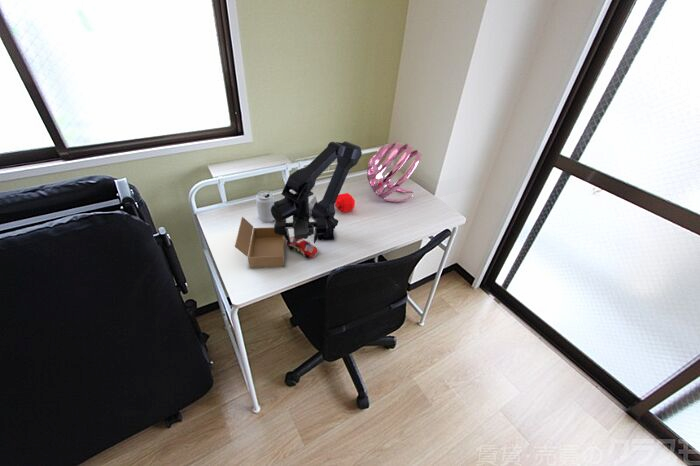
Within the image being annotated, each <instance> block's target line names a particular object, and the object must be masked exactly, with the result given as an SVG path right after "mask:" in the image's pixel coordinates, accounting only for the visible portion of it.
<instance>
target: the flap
mask: <svg viewBox="0 0 700 466" xmlns="http://www.w3.org/2000/svg"><path fill="white" fill-rule="evenodd" d="M253 228H254V226H253V225H252V223H250V222H249V220H247V219H246V218H245V217H244V216H242V217H241V219H240V224H239V228H238V230H237V231H238V232H237V236H236V238H235V239H236V240H235V244H234V248H235V249H237V250H238V251H239V252H240V253H242V254H243V255H244V256H246V257H248V255H249V249H250V244H251V238H252V233H253Z"/></svg>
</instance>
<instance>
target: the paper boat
mask: <svg viewBox="0 0 700 466" xmlns="http://www.w3.org/2000/svg"><path fill="white" fill-rule="evenodd" d="M316 202H317V203H318V202H319V201H318V199H317V196H316V195H314V196H313V197H312V198H311V200H310V201H309V217H312V216H311V213H312V212H311V210H312V209H313V207H314V204H315V203H316Z"/></svg>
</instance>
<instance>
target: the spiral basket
mask: <svg viewBox="0 0 700 466" xmlns="http://www.w3.org/2000/svg"><path fill="white" fill-rule="evenodd" d="M402 144H403V143H402V142H401V141H394V142H393V143H392V144H390V143H385V144H383V145H382V146H381V147H380V148H379V149H378V150H377V151H376V153H374V155H372V156H371V158H370V159H369V161H368V163H367V169H366V178H367V182H368V185H369V186H370V189H371V190H372V191H373V193H374V194H375V195H376V196H377V197H379V198H380V199H381V200H384V201H386V202H391V203H401V202H406V201H407V200H409V199H411V198H412V197H413V196H414V195H413V193H414V191H413V190H407V189H403V188H400V187H401V186H402V185H403V184H405V182H406V181H407V179H408V178H410V176H411V175H412V174H413V172H414V171H415V169H416V168H417V167H418V165H419V163H420V161H421V160H422V152H421V151H420V150H419V149H414V150H413V148H414V147H413V144H410V143H405V144H403V145H402ZM403 152H404V153H403ZM402 153H403V154H402ZM401 154H402V155H401ZM400 155H401V157H400V158H399V160H397V162H396V163H395V165H394V166H393V167H392V168H390V170H389V171H388V172H387V173H386V174H385V175H384V176H383V173H384V172H385V171H386V170H387V169H388V167H389V166H390V165H391V164H392V163H393V162H394V161H395V159H396V158H397V157H399V156H400ZM413 157H415V158H414V159H413V161H412V163H411V164H409V165H410V166H408V168H407V169H406V170H405V172H404V173H403V174H402V176H401V177H400V178H399V179H397V180H396V182H395V183H394V184H393V183H392V182H391V179H392V178H393V177H394V176H395V175H396V174H397V172H398V171H399V170H400V169H402V167H403V166H404V165H406V163H408V161H410V160H411V159H412V158H413ZM383 159H384V160H383ZM386 187H388V189H387V190H386V191H384V190H385V188H386ZM394 192H399V193H404V194H411V195H409V196H407V197H404V198H402V199H390V198H387V197H389V196H390V195H392V194H393V193H394Z"/></svg>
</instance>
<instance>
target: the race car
mask: <svg viewBox="0 0 700 466" xmlns="http://www.w3.org/2000/svg"><path fill="white" fill-rule="evenodd" d="M285 245H286V247H287V248H288V249H289V250H290V251H294V252H296V253H297V254H299V255H302V256H303V257H305V258H306V259H312V258H315V257H316V256H317V255H318V248H317V247H316V246H315V245H313V244H311V242H310V241H307V240H306V239H295V238H294V235H293V236H290V244H289V243H288V242H287V241H285Z"/></svg>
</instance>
